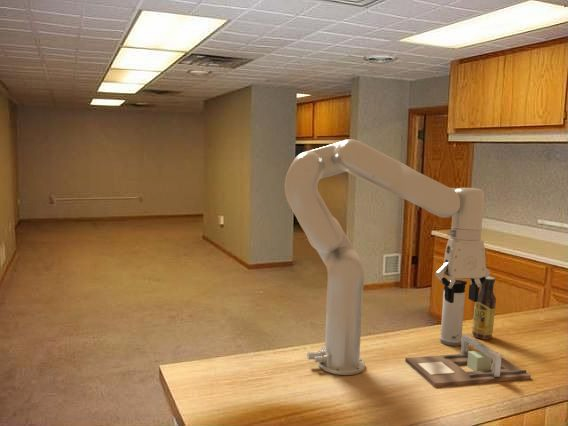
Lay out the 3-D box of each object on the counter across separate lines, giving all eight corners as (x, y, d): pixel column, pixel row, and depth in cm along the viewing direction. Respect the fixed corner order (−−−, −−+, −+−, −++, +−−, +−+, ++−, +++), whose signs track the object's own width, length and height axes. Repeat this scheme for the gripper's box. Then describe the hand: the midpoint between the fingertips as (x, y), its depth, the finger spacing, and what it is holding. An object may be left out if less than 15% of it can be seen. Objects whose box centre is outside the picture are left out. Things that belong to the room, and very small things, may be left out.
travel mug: (458, 348, 154) (463, 283, 152) (437, 342, 158) (441, 280, 156) (465, 342, 159) (469, 280, 157) (444, 337, 163) (448, 276, 161)
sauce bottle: (467, 334, 167) (472, 274, 165) (483, 332, 169) (488, 274, 166) (480, 341, 161) (485, 279, 158) (497, 339, 163) (502, 278, 160)
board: (434, 387, 128) (434, 381, 128) (405, 361, 144) (405, 355, 143) (530, 378, 134) (530, 373, 134) (492, 355, 150) (493, 349, 150)
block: (476, 373, 137) (477, 357, 137) (467, 366, 142) (468, 351, 141) (490, 372, 138) (492, 356, 138) (481, 365, 143) (482, 350, 142)
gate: (494, 376, 132) (496, 355, 131) (460, 353, 147) (462, 334, 146) (499, 376, 132) (501, 355, 132) (465, 353, 147) (467, 334, 147)
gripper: (443, 237, 128) (438, 306, 130) (503, 236, 132) (498, 304, 134) (428, 232, 135) (424, 298, 138) (486, 232, 139) (481, 296, 142)
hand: (461, 300), depth 136 cm, fingers open, 6 cm apart
